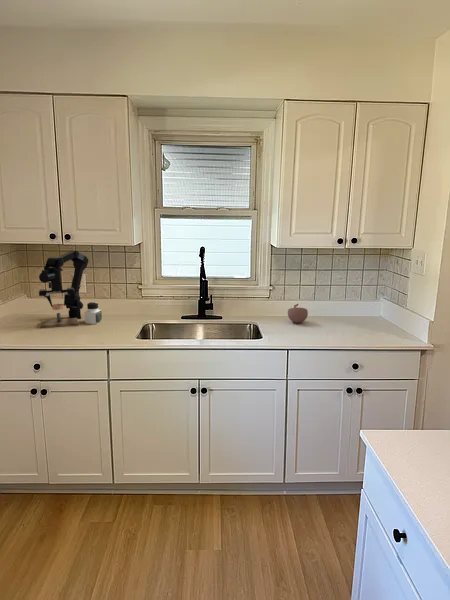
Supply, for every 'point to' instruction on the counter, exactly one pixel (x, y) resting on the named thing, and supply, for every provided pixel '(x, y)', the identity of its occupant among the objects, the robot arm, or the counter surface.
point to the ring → (57, 306)
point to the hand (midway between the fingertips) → (58, 306)
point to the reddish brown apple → (297, 314)
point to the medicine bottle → (93, 314)
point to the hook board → (58, 322)
